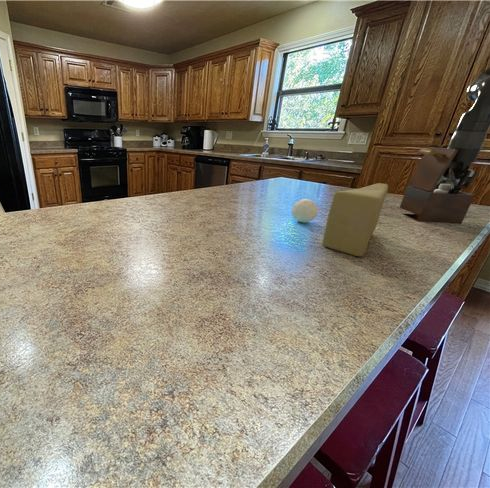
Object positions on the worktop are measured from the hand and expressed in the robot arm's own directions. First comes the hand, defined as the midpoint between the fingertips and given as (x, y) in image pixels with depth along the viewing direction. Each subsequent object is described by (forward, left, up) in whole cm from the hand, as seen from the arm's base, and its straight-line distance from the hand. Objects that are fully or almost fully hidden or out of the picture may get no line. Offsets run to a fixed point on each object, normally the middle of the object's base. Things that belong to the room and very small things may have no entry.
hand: (442, 198), depth 92 cm
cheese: (+39, +30, -7) cm, 49 cm away
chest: (+2, 0, -7) cm, 7 cm away
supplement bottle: (0, 0, -6) cm, 6 cm away
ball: (+48, +14, -7) cm, 51 cm away
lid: (+7, 0, +10) cm, 12 cm away
